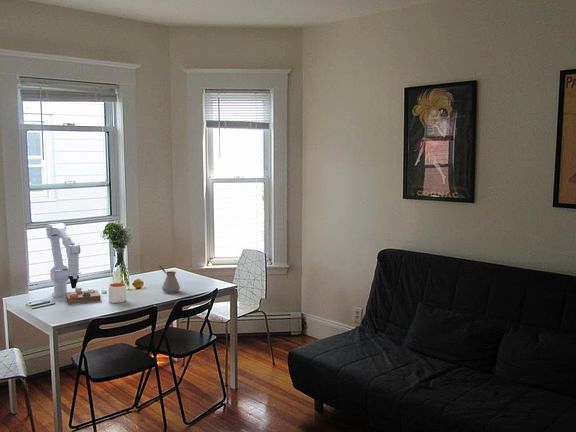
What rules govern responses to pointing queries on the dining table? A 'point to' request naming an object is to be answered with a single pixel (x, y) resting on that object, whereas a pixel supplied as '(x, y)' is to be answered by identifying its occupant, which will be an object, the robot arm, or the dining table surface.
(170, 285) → the coffee pot
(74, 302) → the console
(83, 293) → the key black
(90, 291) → the key ivory
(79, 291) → the key grey
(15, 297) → the dining table surface
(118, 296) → the cup
